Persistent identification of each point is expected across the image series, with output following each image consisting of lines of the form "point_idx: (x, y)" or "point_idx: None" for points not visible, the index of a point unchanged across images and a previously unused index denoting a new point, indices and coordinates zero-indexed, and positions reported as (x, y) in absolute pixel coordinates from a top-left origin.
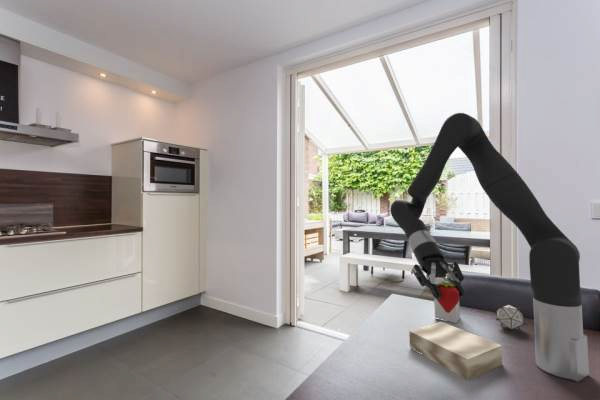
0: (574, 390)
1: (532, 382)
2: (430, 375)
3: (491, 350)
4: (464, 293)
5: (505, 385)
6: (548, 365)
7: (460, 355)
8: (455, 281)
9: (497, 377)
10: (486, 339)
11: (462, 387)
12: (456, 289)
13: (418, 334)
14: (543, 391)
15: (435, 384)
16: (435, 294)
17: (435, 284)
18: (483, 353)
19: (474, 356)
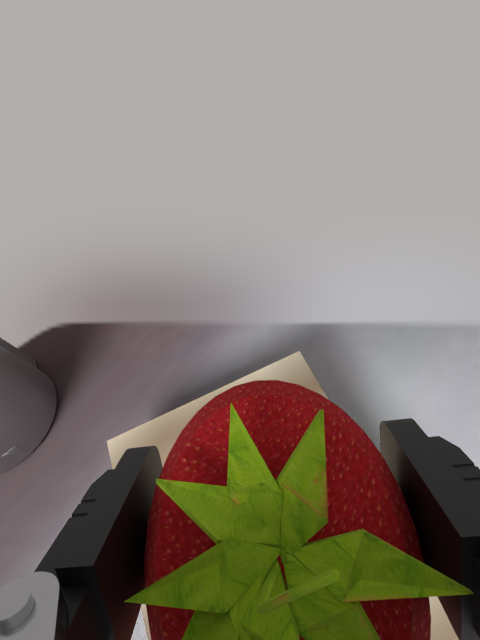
0: (76, 334)
1: (136, 364)
2: (411, 408)
3: (172, 411)
4: (108, 473)
5: (213, 354)
6: (43, 389)
7: (312, 374)
8: (65, 601)
9: (207, 388)
10: None
11: (333, 349)
12: (191, 438)
13: (447, 620)
14: (145, 332)
15: (408, 363)
16: (452, 450)
17: (476, 527)
18: (216, 390)
19: (265, 367)
